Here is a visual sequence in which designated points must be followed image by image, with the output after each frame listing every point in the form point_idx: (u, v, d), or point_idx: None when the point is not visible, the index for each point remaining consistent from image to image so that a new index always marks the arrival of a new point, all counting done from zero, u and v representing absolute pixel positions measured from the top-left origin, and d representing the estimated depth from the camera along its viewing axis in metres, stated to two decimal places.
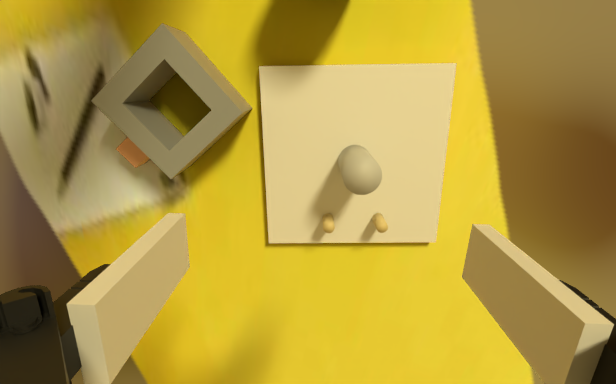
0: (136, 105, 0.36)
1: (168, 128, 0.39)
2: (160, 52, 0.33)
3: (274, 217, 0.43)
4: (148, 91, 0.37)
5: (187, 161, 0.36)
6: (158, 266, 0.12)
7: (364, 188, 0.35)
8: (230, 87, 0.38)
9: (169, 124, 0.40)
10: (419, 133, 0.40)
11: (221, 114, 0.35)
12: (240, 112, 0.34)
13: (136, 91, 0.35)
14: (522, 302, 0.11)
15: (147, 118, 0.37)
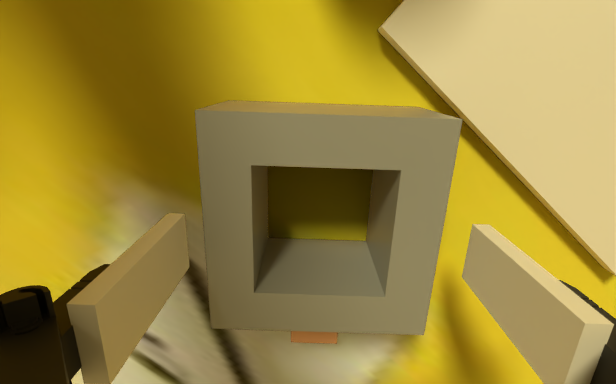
0: (269, 270, 0.19)
1: (331, 252, 0.21)
2: (236, 161, 0.14)
3: (599, 232, 0.21)
4: (262, 231, 0.19)
5: (428, 287, 0.16)
6: (158, 266, 0.12)
7: None
8: (367, 107, 0.18)
9: (323, 244, 0.22)
10: None
11: (425, 160, 0.14)
12: (458, 122, 0.14)
13: (255, 253, 0.17)
14: (522, 302, 0.11)
15: (300, 271, 0.18)
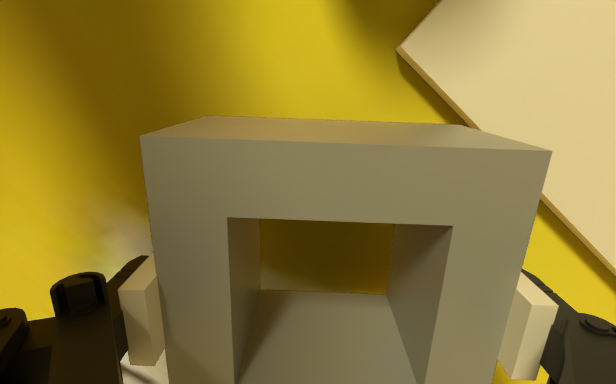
0: (258, 346, 0.14)
1: (342, 314, 0.16)
2: (204, 211, 0.10)
3: None
4: (251, 290, 0.14)
5: None
6: None
7: None
8: (394, 126, 0.13)
9: (331, 300, 0.17)
10: None
11: (490, 211, 0.09)
12: (546, 156, 0.09)
13: (238, 332, 0.12)
14: None
15: (300, 349, 0.14)
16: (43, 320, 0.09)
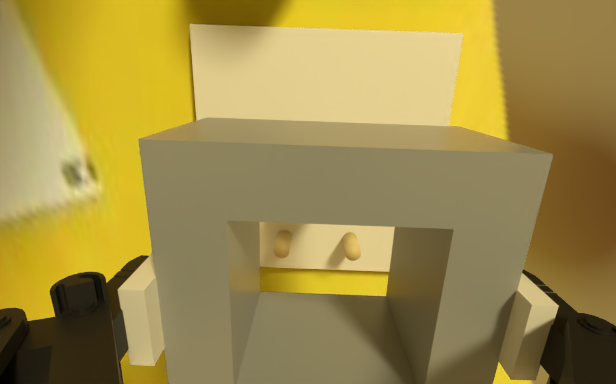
0: (258, 349, 0.14)
1: (342, 317, 0.16)
2: (204, 214, 0.10)
3: None
4: (251, 293, 0.14)
5: None
6: None
7: None
8: (394, 129, 0.13)
9: (331, 303, 0.17)
10: None
11: (491, 215, 0.09)
12: (546, 159, 0.09)
13: (237, 336, 0.12)
14: None
15: (300, 351, 0.14)
16: (43, 320, 0.09)
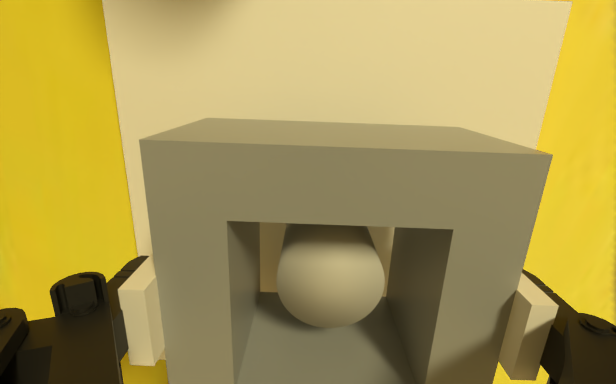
0: (258, 349, 0.14)
1: None
2: (204, 214, 0.10)
3: None
4: (251, 293, 0.14)
5: None
6: None
7: (335, 313, 0.13)
8: (394, 129, 0.13)
9: None
10: None
11: (490, 215, 0.09)
12: (546, 160, 0.09)
13: (238, 336, 0.12)
14: None
15: (300, 351, 0.14)
16: (43, 320, 0.09)
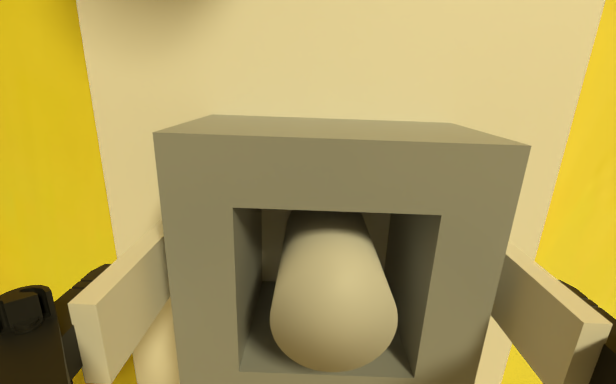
0: (261, 332, 0.14)
1: None
2: (211, 202, 0.10)
3: (146, 337, 0.19)
4: (253, 280, 0.15)
5: (473, 367, 0.12)
6: (159, 266, 0.13)
7: (339, 355, 0.11)
8: (388, 124, 0.14)
9: None
10: None
11: (475, 202, 0.10)
12: (525, 150, 0.10)
13: (242, 317, 0.13)
14: (521, 302, 0.11)
15: None
16: None
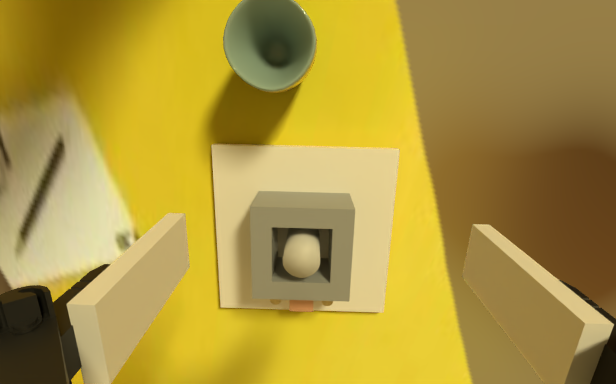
0: (278, 272, 0.39)
1: None
2: (265, 225, 0.35)
3: (226, 283, 0.44)
4: (275, 253, 0.40)
5: (349, 278, 0.37)
6: (158, 266, 0.12)
7: (303, 272, 0.36)
8: (323, 196, 0.39)
9: None
10: (365, 211, 0.41)
11: (342, 225, 0.35)
12: (353, 210, 0.35)
13: (272, 264, 0.38)
14: (522, 302, 0.11)
15: None
16: None
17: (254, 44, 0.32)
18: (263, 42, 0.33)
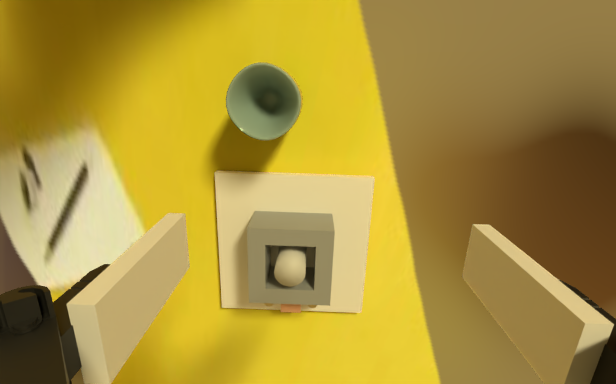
0: (271, 280, 0.47)
1: None
2: (260, 243, 0.43)
3: (227, 287, 0.52)
4: (268, 264, 0.47)
5: (329, 287, 0.44)
6: (158, 266, 0.12)
7: (291, 281, 0.43)
8: (309, 217, 0.46)
9: None
10: (345, 229, 0.48)
11: (323, 243, 0.42)
12: (333, 232, 0.42)
13: (266, 274, 0.45)
14: (522, 302, 0.11)
15: None
16: None
17: (251, 97, 0.38)
18: (259, 93, 0.40)
